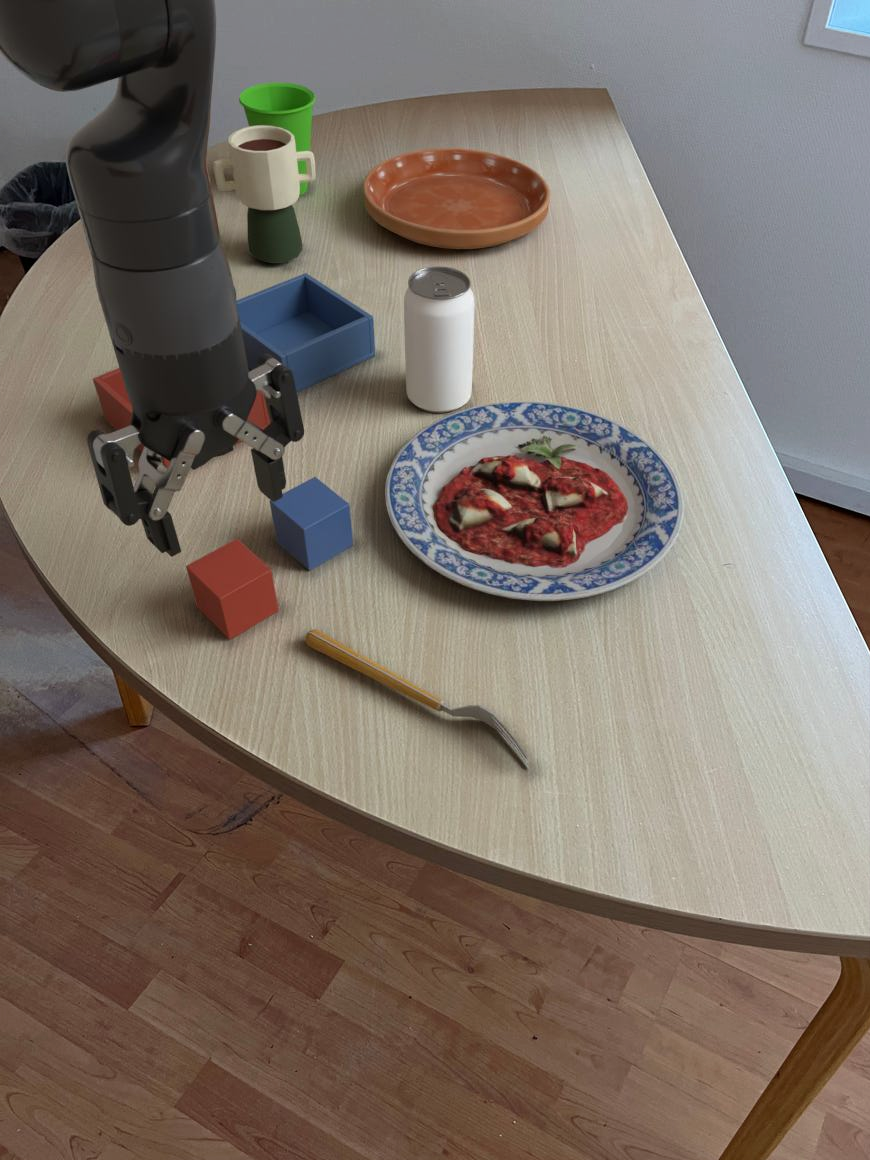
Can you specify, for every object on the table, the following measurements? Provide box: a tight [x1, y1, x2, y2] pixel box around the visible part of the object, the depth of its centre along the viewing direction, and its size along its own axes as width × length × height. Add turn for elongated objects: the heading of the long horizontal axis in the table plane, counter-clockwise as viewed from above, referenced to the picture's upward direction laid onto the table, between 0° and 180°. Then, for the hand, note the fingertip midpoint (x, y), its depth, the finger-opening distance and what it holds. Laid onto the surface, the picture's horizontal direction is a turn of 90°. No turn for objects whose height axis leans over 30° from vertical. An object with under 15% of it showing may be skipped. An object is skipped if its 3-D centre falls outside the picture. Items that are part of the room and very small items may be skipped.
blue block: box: [269, 476, 354, 571], centre depth 79 cm, size 5×5×5 cm
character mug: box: [213, 125, 317, 264], centre depth 107 cm, size 11×7×13 cm, turn 108°
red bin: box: [92, 367, 270, 469], centre depth 89 cm, size 11×11×4 cm
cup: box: [238, 82, 316, 197], centre depth 119 cm, size 9×9×11 cm
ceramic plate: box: [384, 400, 685, 602], centre depth 83 cm, size 26×26×3 cm
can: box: [403, 266, 475, 414], centre depth 90 cm, size 6×6×12 cm
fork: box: [305, 629, 530, 769], centre depth 69 cm, size 2×2×20 cm
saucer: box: [362, 147, 551, 250], centre depth 118 cm, size 23×23×4 cm
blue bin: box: [236, 272, 376, 393], centre depth 97 cm, size 11×11×4 cm
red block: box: [185, 538, 280, 640], centre depth 74 cm, size 5×5×5 cm
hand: (221, 521), depth 69 cm, fingers open, 8 cm apart
